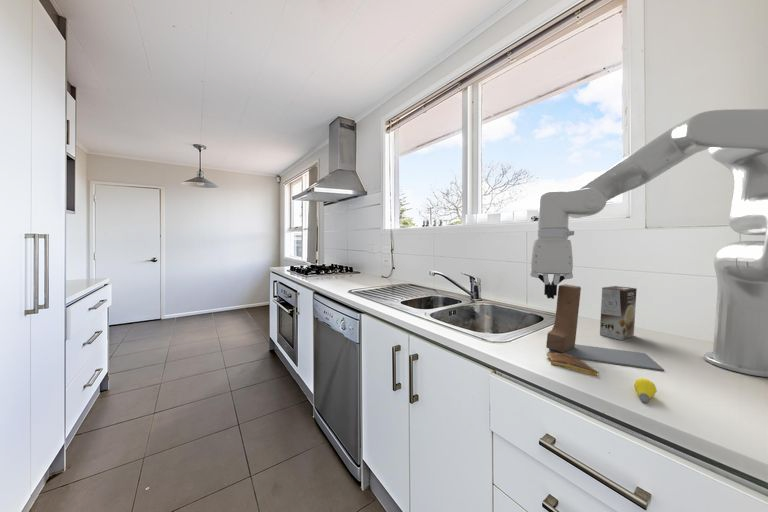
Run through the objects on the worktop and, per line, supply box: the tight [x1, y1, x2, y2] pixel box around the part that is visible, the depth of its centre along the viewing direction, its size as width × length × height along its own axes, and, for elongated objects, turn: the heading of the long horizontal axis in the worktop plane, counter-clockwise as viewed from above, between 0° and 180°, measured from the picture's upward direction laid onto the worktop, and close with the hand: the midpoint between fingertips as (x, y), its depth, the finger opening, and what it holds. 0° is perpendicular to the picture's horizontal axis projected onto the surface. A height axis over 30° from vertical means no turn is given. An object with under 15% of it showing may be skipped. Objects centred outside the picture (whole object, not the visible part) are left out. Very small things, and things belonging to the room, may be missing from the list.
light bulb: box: [633, 377, 658, 403], centre depth 58 cm, size 3×6×4 cm, turn 137°
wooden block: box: [545, 284, 582, 353], centre depth 82 cm, size 9×4×18 cm, turn 128°
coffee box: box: [599, 285, 638, 341], centre depth 95 cm, size 9×6×16 cm
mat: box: [548, 343, 665, 372], centre depth 80 cm, size 24×11×1 cm, turn 66°
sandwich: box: [545, 352, 600, 376], centre depth 72 cm, size 11×8×2 cm
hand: (550, 297), depth 84 cm, fingers closed
